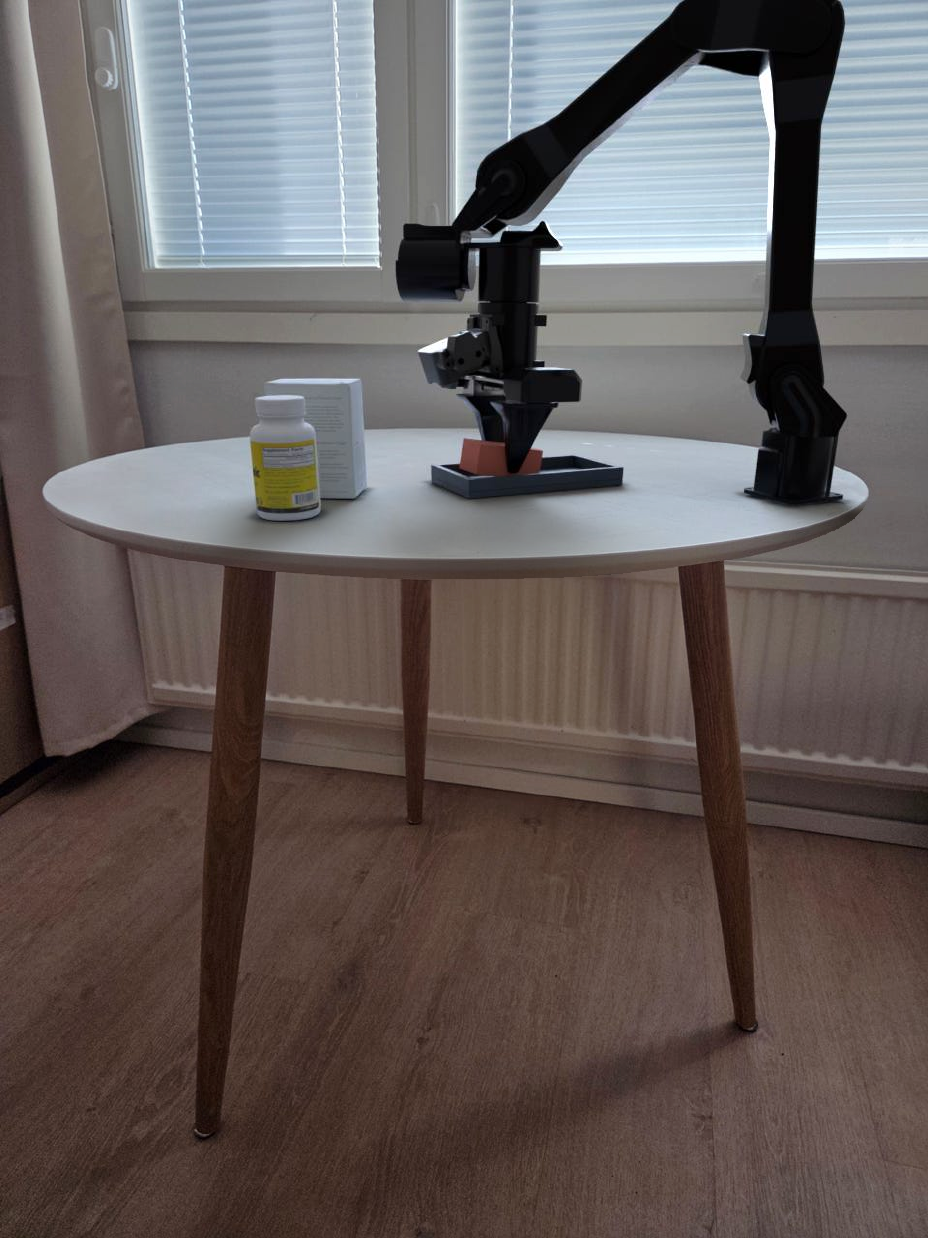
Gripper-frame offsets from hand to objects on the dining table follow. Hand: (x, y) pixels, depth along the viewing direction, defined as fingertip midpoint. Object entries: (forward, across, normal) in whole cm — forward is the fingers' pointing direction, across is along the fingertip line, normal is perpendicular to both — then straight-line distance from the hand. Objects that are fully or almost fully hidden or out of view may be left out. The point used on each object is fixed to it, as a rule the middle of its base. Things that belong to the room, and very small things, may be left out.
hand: (502, 469), depth 84 cm
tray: (+2, 0, +3) cm, 3 cm away
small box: (+2, -4, -18) cm, 18 cm away
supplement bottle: (+2, +4, -23) cm, 23 cm away
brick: (0, 0, 0) cm, 1 cm away
